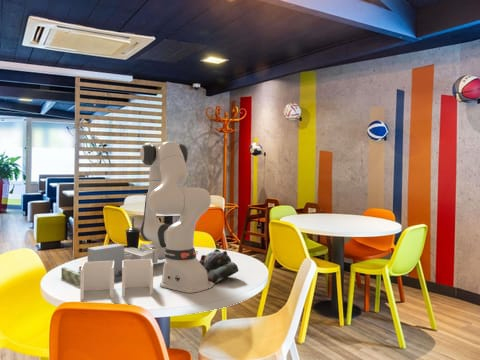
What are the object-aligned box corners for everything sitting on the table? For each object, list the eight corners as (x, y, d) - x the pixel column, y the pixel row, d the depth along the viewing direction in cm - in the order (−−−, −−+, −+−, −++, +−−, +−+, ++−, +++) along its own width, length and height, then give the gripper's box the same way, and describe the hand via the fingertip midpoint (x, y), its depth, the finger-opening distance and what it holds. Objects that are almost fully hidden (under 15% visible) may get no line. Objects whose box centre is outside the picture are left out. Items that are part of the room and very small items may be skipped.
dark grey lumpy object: (209, 285, 155) (196, 253, 159) (204, 289, 166) (193, 258, 170) (242, 272, 160) (230, 240, 164) (236, 276, 171) (224, 246, 175)
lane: (138, 272, 173) (138, 263, 173) (78, 285, 153) (78, 275, 153) (119, 266, 184) (119, 257, 184) (61, 277, 164) (61, 267, 164)
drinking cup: (137, 257, 201) (138, 219, 200) (123, 257, 201) (123, 219, 201) (141, 254, 209) (142, 217, 208) (127, 254, 209) (128, 217, 208)
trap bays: (130, 278, 163) (130, 275, 163) (111, 283, 157) (111, 279, 157) (98, 266, 182) (98, 263, 182) (79, 270, 176) (79, 266, 176)
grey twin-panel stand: (151, 286, 154) (151, 258, 154) (152, 295, 144) (153, 265, 144) (83, 290, 147) (83, 262, 147) (80, 300, 137) (80, 269, 137)
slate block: (124, 272, 173) (124, 245, 173) (94, 278, 163) (94, 250, 163) (117, 269, 177) (117, 243, 177) (87, 275, 167) (87, 247, 167)
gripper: (134, 243, 192) (109, 247, 182) (159, 249, 179) (132, 254, 168) (134, 256, 193) (109, 260, 182) (159, 263, 179) (132, 268, 169)
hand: (120, 257), depth 175 cm, fingers closed, pressing on slate block
